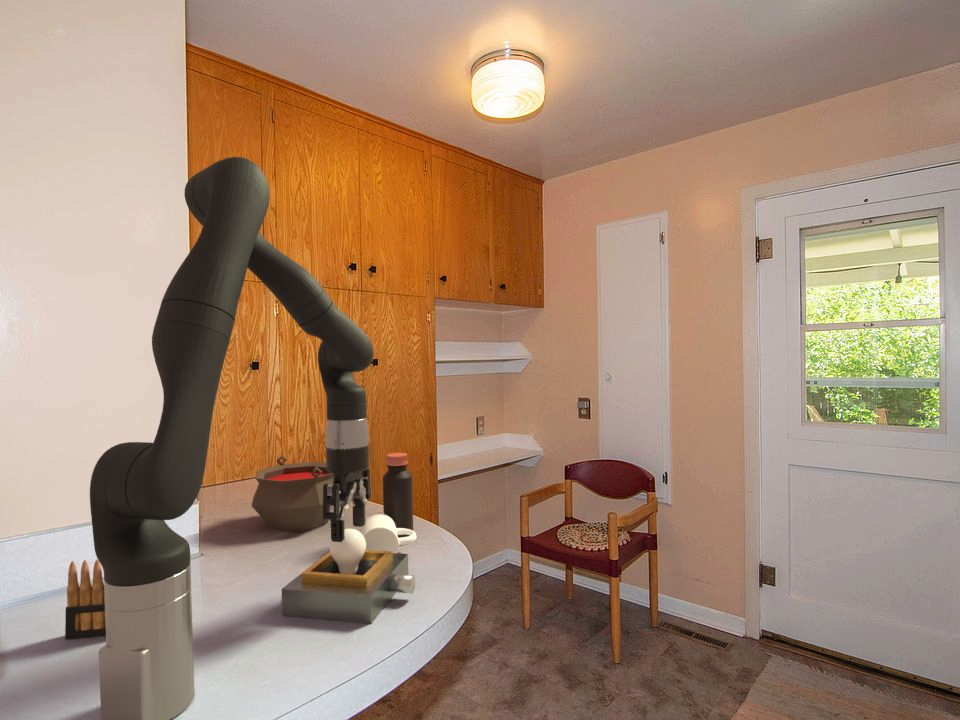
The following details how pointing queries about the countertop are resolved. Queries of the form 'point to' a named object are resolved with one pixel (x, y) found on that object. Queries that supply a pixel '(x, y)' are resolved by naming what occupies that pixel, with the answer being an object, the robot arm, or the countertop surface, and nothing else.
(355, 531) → the lightbulb
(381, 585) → the grey shallow box
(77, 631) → the ammunition clip
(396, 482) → the bottle
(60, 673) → the countertop surface
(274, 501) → the brown cauldron
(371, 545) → the mug
